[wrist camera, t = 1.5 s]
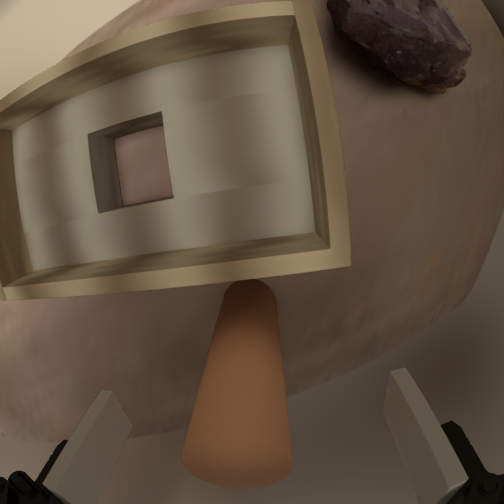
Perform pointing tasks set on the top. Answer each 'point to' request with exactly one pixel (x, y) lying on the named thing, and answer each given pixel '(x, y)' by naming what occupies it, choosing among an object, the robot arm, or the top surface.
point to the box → (176, 159)
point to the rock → (405, 40)
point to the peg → (242, 396)
